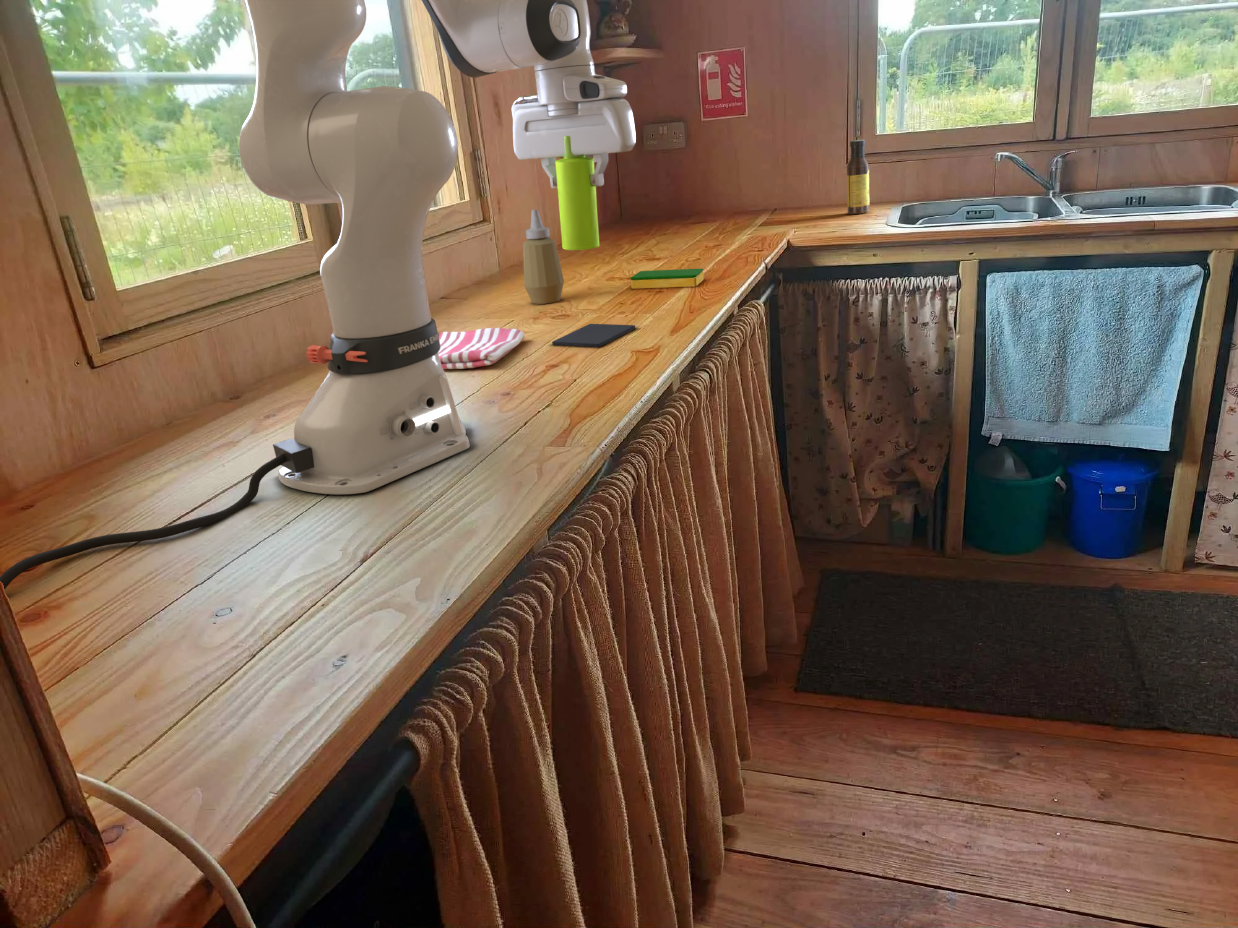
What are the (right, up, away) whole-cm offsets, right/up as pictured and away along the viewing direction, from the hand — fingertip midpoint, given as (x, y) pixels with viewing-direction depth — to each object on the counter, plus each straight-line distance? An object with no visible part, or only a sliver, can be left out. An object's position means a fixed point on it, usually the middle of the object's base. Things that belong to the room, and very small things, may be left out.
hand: (577, 187), depth 134 cm
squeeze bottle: (-8, -10, +42) cm, 44 cm away
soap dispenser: (+1, -9, +3) cm, 9 cm away
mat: (+2, -21, +11) cm, 24 cm away
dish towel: (-22, -26, +7) cm, 35 cm away
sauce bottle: (+76, +30, +118) cm, 144 cm away
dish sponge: (+17, -6, +46) cm, 50 cm away
